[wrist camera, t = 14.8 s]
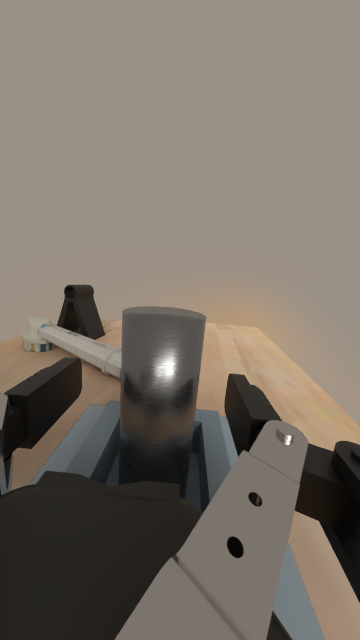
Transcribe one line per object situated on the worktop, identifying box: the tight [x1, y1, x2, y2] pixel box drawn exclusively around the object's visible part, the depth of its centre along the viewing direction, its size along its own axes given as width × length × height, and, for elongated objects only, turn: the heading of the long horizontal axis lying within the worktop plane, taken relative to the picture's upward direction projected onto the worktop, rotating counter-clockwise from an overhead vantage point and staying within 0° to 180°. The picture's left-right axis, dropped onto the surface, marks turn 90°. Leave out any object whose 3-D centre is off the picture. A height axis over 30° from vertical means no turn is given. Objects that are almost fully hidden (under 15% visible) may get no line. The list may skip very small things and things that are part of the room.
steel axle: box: [118, 307, 206, 500], centre depth 12 cm, size 4×4×12 cm
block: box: [29, 401, 325, 640], centre depth 13 cm, size 16×16×4 cm
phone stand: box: [57, 285, 105, 340], centre depth 46 cm, size 9×6×12 cm, turn 78°
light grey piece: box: [21, 316, 122, 380], centre depth 34 cm, size 5×7×25 cm
